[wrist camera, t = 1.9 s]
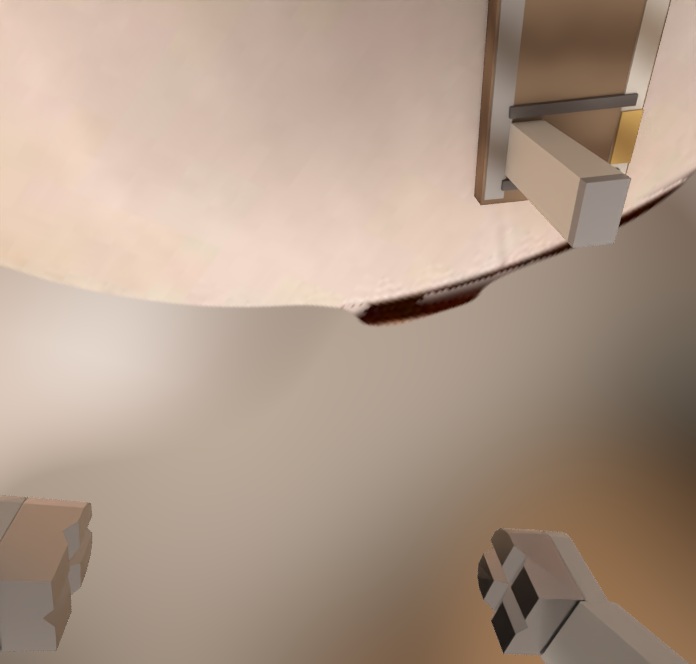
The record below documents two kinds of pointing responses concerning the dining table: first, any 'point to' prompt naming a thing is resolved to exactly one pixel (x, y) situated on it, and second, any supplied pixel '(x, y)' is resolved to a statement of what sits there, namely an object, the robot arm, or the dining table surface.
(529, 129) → the tab
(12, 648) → the robot arm
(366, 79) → the dining table surface
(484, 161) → the slotted wooden base
